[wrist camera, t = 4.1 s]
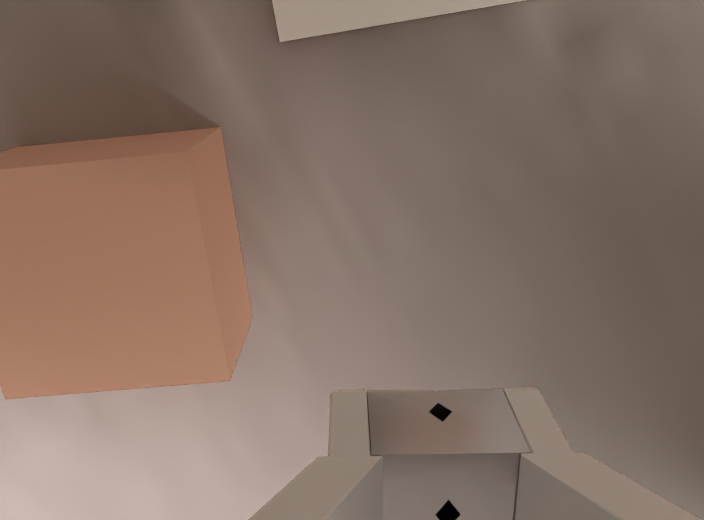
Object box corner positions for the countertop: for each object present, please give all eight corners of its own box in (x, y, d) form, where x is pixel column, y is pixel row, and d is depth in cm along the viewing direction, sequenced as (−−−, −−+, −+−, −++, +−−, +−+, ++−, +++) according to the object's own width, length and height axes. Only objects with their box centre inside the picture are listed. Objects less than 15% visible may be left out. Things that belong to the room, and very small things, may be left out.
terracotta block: (222, 125, 18) (187, 151, 14) (253, 315, 20) (229, 380, 17) (18, 146, 18) (-69, 176, 15) (69, 330, 21) (5, 399, 17)
